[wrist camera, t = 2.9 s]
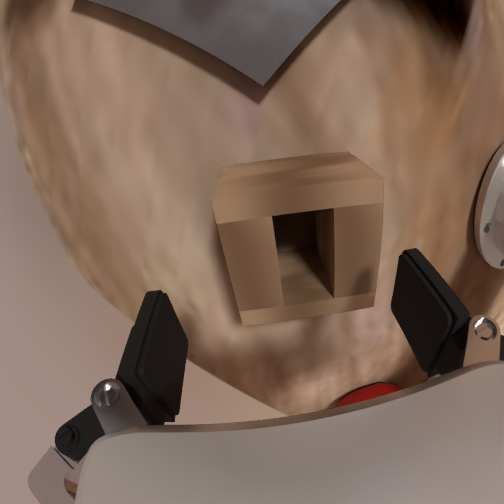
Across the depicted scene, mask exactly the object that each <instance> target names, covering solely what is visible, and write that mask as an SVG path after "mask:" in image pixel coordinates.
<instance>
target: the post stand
mask: <svg viewBox="0 0 504 504" xmlns="http://www.w3.org/2000/svg"><path fill="white" fill-rule="evenodd" d="M86 1H89V2H92V3H95V4H99V5H102V6H105V7H108V8H110V9H113V10H116V11H119V12H121V13H124V14H127V15H129V16H132V17H134V18H137V19H139V20H141V21H144V22H146V23H148V24H151V25H153V26H155V27H157V28H160V29H162V30H164V31H166V32H168V33H170V34H172V35H174V36H176V37H179V38H181V39H182V40H184V41H186V42H188V43H190V44H192V45H194V46H196V47H198V48H200V49H202V50H203V51H205V52H207V53H209V54H211V55H212V56H214V57H216V58H217V59H219V60H221V61H223V62H224V63H226V64H228V65H229V66H231V67H233V68H234V69H236V70H237V71H239V72H241V73H242V74H244V75H245V76H247V77H248V78H250V79H252V80H253V81H255V82H256V83H258V84H259V85H261V86H262V87H263V86H264V85H265V84H266V82H267V81H268V80H269V79H270V77H271V76H272V75H273V74H274V73H275V71H276V70H277V69H278V68H279V67H280V65H281V64H282V63H283V62H284V61H285V59H286V58H287V57H288V56H289V55H290V54H291V53H292V51H293V50H294V49H295V48H296V47H297V46H298V45H299V43H300V42H301V41H302V40H303V39H304V38H305V37H306V36H307V35H308V33H309V32H310V31H311V30H312V29H313V28H314V27H315V26H316V25H317V24H318V23H319V22H320V21H321V20H322V19H323V18H324V16H325V15H326V14H327V13H328V12H329V11H330V10H331V9H332V8H333V7H334V6H335V5H336V4H337V3H338V2H339V1H340V0H86Z"/></svg>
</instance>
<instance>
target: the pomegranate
mask: <svg viewBox="0 0 504 504" xmlns="http://www.w3.org/2000/svg"><path fill="white" fill-rule="evenodd" d="M402 389H403V388H400V387H398V386H396V385H394V384H389V383H376V384H373V385H370V386H367V387H364V388H361V389H358V390H356V391H354V392H352V393H351V394H349V395H347V396H346V397H345V398H344V399H343V400H341V401H340V402H339V404H338V405H337V407H341V406H345V405H350V404H354V403H358V402H362V401H365V400H369V399H373V398H376V397H380V396H383V395H387V394H390V393H393V392H396V391H399V390H402ZM337 407H336V408H337Z"/></svg>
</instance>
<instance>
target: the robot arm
mask: <svg viewBox="0 0 504 504" xmlns="http://www.w3.org/2000/svg"><path fill="white" fill-rule="evenodd" d="M474 233H475V240H476V246H477V248H478V250H479V253H480V254H481V256H482V257H483V258H484V260H485V261H486V262H487V263H489V264H490V265H491V266H492V267H494V268H497V269H504V143H503V144H502V145H501V147H500V148H499V149H498V151H497V152H496V153H495V155H494V157H493V159H492V161H491V162H490V164H489V166H488V169H487V171H486V173H485V176H484V178H483V181H482V184H481V188H480V191H479V194H478V200H477V204H476V210H475V220H474ZM391 310H392V312H393V314H394V316H395V318H396V320H397V322H398V323H399V325H400V327H401V329H402V331H403V333H404V335H405V337H406V338H407V340H408V342H409V344H410V346H411V348H412V350H413V352H414V354H415V356H416V358H417V360H418V362H419V364H420V366H421V369H422V370H423V371H424V372H427V374H428V376H429V378H430V377H433V376H435V375H438V374H440V375H441V376H439V377H437V378H434V379H431V380H428V381H426V382H423V383H420V384H417V385H414V386H411V387H408V388H405V389H402V390H399V391H396V392H393V393H390V394H387V395H383V396H380V397H376V398H373V399H369V400H365V401H362V402H358V403H354V404H350V405H345V406H341V407H337V408H332V409H327V410H322V411H317V412H312V413H307V414H301V415H295V416H288V417H281V418H274V419H267V420H257V421H247V422H235V423H220V424H196V425H164V422H175V415H178V414H179V410H180V403H181V394H182V386H183V379H184V371H185V364H186V357H187V350H188V340H187V337H186V335H185V333H184V330H183V328H182V326H181V324H180V322H179V320H178V318H177V315H176V313H175V311H174V309H173V306H172V304H171V302H170V300H169V297H168V295H167V294H166V293H163V292H162V291H161V290H156V291H149V292H147V293H146V294H145V297H144V300H143V302H142V305H141V308H140V311H139V313H138V316H137V319H136V322H135V325H134V326H133V327H132V329H131V332H130V335H129V338H128V341H127V344H126V347H125V350H124V353H123V356H122V359H121V362H120V365H119V369H118V372H117V375H116V378H115V379H112V378H110V379H105V380H103V381H101V382H99V383H98V384H97V385H96V386H95V387H94V389H93V391H92V393H91V403H92V404H91V405H90V406H89V407H87V408H86V409H84V410H83V411H82V412H80V413H79V414H78V415H76V416H75V417H73V418H72V419H71V420H69V421H68V422H66V423H65V424H63V425H62V426H61V427H60V428H59V429H58V431H57V433H56V436H55V445H56V446H55V447H52V446H51V447H50V448H49V450H48V451H47V452H46V453H45V455H44V456H43V457H42V459H41V460H40V461H39V462H38V464H37V465H36V466H35V467H34V469H33V470H32V471H31V473H30V475H29V477H28V485H29V488H30V490H31V491H32V493H33V494H34V495H35V497H36V498H37V499H38V501H39V502H40V503H41V504H504V336H503V335H500V328H499V326H498V324H497V323H496V321H495V320H493V319H492V318H491V317H488V316H486V315H477V316H475V317H473V318H471V317H470V315H469V314H470V313H469V311H468V310H467V309H466V307H465V306H464V305H463V303H462V302H461V301H460V299H459V298H458V297H457V295H456V294H455V293H454V292H453V290H452V289H451V288H450V287H449V285H448V284H447V283H446V282H445V280H444V279H443V278H442V277H441V275H440V274H439V273H438V272H437V271H436V269H435V268H434V267H433V266H432V265H431V264H430V262H429V261H428V260H427V259H426V258H425V257H424V256H423V254H422V253H421V252H420V251H419V250H418V249H417V248H413V249H408V250H404V251H403V252H402V254H401V255H400V256H399V260H398V267H397V273H396V279H395V285H394V291H393V296H392V301H391Z"/></svg>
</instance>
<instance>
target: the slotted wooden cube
mask: <svg viewBox="0 0 504 504" xmlns="http://www.w3.org/2000/svg"><path fill="white" fill-rule="evenodd" d="M211 203H212V207H213V211H214V215H215V219H216V223H217V227H218V231H219V235H220V239H221V244H222V248H223V251H224V255H225V259H226V263H227V267H228V271H229V275H230V279H231V283H232V287H233V290H234V294H235V298H236V302H237V306H238V309H239V313H240V317H241V320H242V324H243V326H247V325H256V324H265V323H273V322H281V321H289V320H296V319H303V318H310V317H317V316H323V315H329V314H336V313H342V312H347V311H353V310H359V309H364V308H369V307H374V300H375V293H376V286H377V278H378V270H379V260H380V250H381V238H382V224H383V204H384V178H383V177H382V176H380V175H379V174H378V173H377V172H375V171H374V170H373V169H371V168H370V167H369V166H367V165H366V164H365V163H363V162H362V161H361V160H359V159H358V158H356V157H355V156H354V155H352V154H351V153H349V152H339V153H328V154H317V155H308V156H299V157H290V158H282V159H275V160H268V161H261V162H254V163H247V164H241V165H235V166H229V167H224V168H223V169H222V171H221V174H220V177H219V179H218V182H217V185H216V187H215V190H214V193H213V196H212V198H211ZM306 211H315V226H316V244H317V248H312V249H304V250H297V251H290V252H283V253H277V249H276V241H275V234H274V227H273V220H272V216H276V215H283V214H291V213H298V212H306Z"/></svg>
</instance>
